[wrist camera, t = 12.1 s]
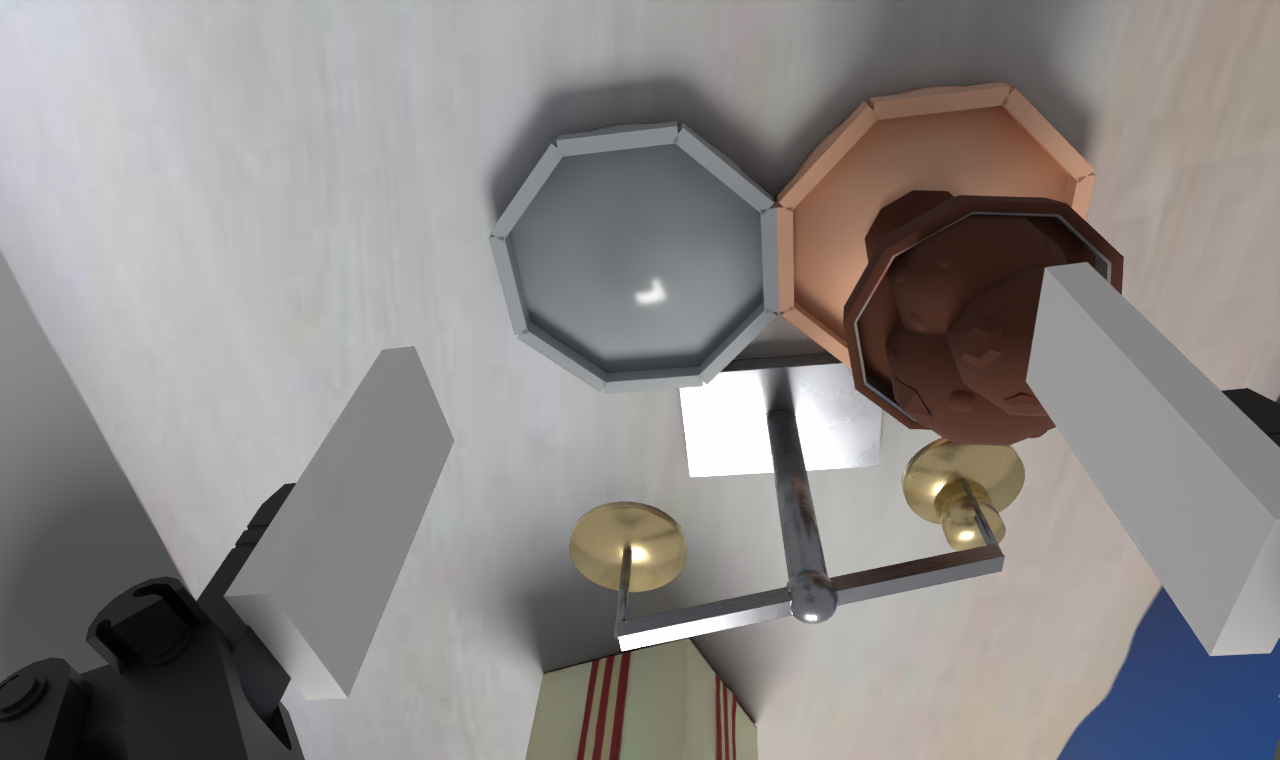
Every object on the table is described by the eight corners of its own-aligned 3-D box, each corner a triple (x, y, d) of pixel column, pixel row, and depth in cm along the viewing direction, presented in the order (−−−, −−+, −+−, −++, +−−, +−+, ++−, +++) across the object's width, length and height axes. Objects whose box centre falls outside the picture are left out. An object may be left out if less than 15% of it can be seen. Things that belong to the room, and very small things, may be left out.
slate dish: (475, 141, 36) (466, 151, 35) (770, 105, 34) (773, 114, 33) (536, 382, 44) (531, 398, 43) (778, 364, 43) (781, 380, 41)
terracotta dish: (770, 105, 34) (773, 114, 33) (1099, 65, 33) (1118, 73, 31) (778, 364, 43) (781, 380, 41) (1041, 344, 41) (1054, 360, 39)
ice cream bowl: (826, 133, 34) (904, 257, 22) (1062, 139, 34) (1280, 269, 21) (797, 325, 40) (846, 510, 28) (998, 332, 40) (1140, 525, 27)
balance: (585, 371, 44) (534, 586, 30) (984, 341, 41) (1134, 563, 27) (605, 470, 48) (569, 697, 34) (967, 448, 45) (1089, 688, 31)
